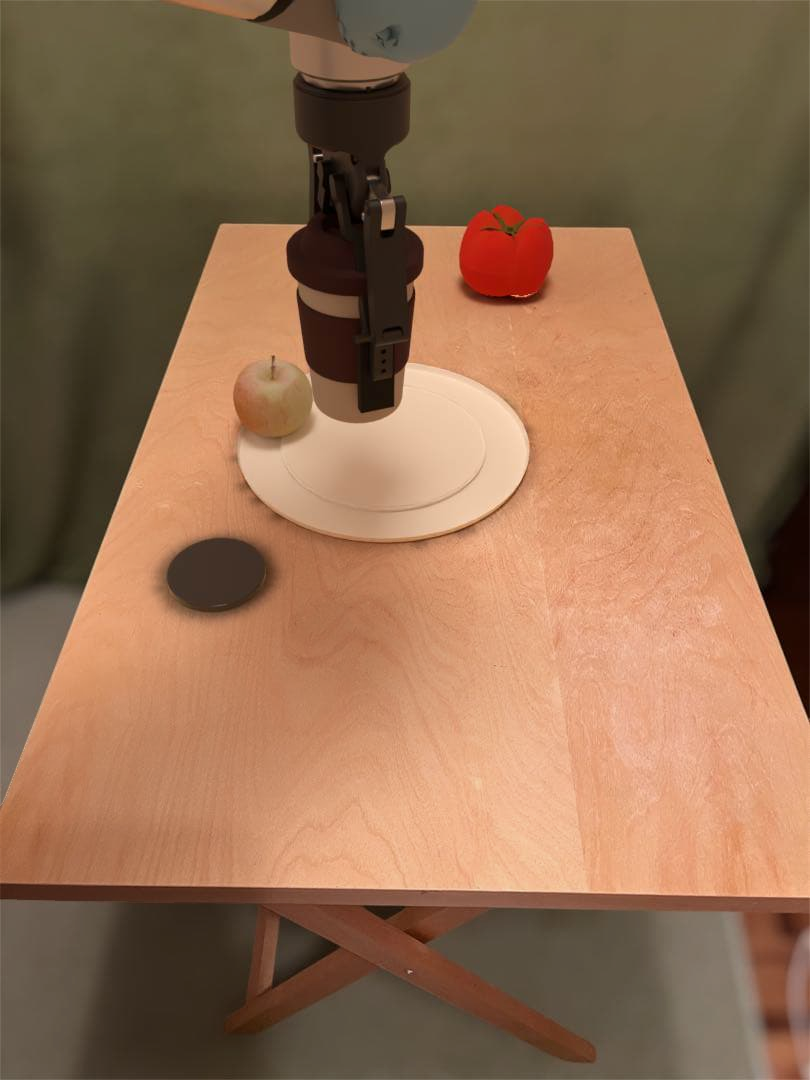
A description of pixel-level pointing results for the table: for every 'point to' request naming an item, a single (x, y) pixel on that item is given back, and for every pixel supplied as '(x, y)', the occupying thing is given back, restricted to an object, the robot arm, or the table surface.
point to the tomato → (505, 253)
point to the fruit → (272, 397)
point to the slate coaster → (216, 575)
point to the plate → (394, 463)
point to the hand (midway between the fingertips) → (356, 376)
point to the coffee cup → (340, 314)
